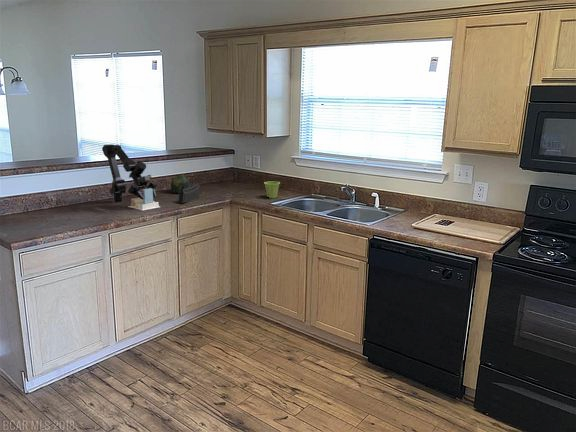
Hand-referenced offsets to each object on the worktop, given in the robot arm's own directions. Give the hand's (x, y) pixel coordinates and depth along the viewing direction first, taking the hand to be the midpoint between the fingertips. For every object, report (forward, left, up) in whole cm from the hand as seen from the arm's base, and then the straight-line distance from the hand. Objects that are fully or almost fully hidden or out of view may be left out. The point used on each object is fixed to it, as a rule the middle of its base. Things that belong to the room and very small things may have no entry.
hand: (149, 198), depth 286 cm
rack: (-5, -3, -8) cm, 10 cm away
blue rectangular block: (-1, -1, -6) cm, 7 cm away
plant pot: (-20, +89, -8) cm, 91 cm away
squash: (-54, +27, -8) cm, 61 cm away
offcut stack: (-8, -5, -6) cm, 11 cm away
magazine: (-25, +30, -8) cm, 40 cm away
